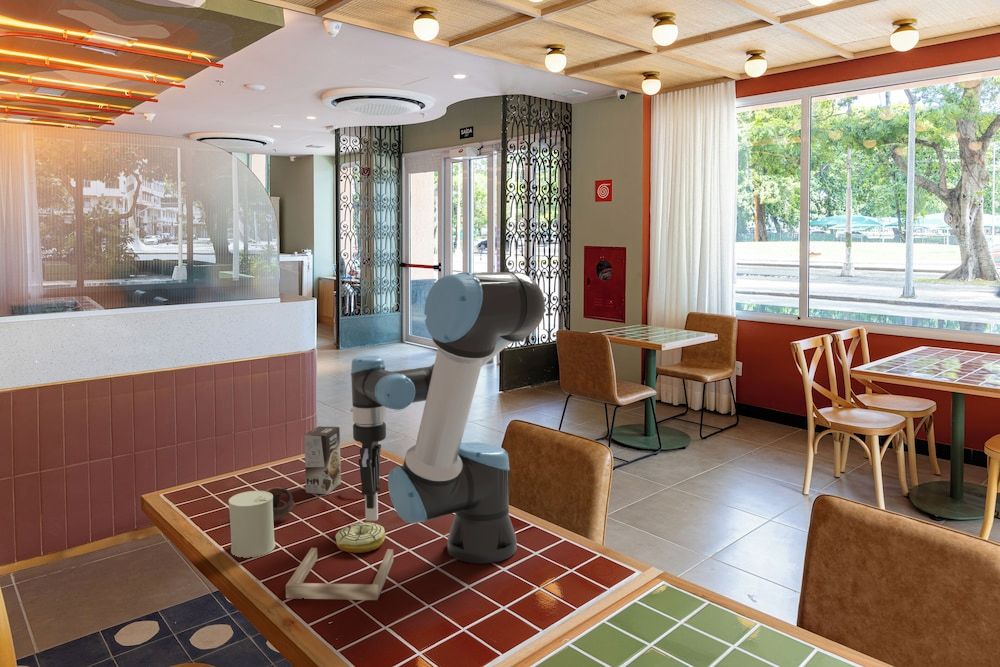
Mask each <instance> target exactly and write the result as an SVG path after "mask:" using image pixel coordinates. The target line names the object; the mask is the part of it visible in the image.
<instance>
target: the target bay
mask: <svg viewBox="0 0 1000 667" xmlns="http://www.w3.org/2000/svg"><path fill="white" fill-rule="evenodd" d="M317 560H318V548H317V547H311V548H310V549H309V550H308V552H307V554H306V555H305V556H304V558H303V560H302V561H301V563H300V564H299V566H298V567H297V568H296V570H295V571H294V573H292V576H291V577H290V579H288V581H287V583H286V584H285V586H284V588H285V598H286V599H300V600H301V599H302V598H304V599H305V600H307V599H308V600H347V601H348V600H350V601H353V600H354V601H357V600H358V601H378V599H379V598H380V594H381V592H382V590H383V587H384V585H385V582H386V580H387V578H388V576H389V573H390V570H391V568H392V565H393V562H394V560H395V559H394V549H392V548H388V549H386V552H385V554H384V557H383V558H382V562H381V563H380V566H379V568H378V570H377V572H376V575H375V577H374V579H373V582H372V583H371V584H370V583H369V584H367V583H322V582H321V583H318V582H317V583H316V582H314V583H313V582H304V581H305V579H306V578H307V576H308V574H309V573H310V572H311V570H312V569H313V567H314V565H315V564H316V563H317ZM304 599H303V600H304Z"/></svg>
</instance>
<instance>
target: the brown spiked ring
mask: <svg viewBox="0 0 1000 667" xmlns="http://www.w3.org/2000/svg"><path fill="white" fill-rule="evenodd" d="M264 491H266V492H269V493H271V494H272V495H273V522H274V521H276V520H280V519H281V518H284V517H286V516H287V515H289V513H291V511H292V510H293V509H294V507H296V503H295V501H294V500H293V498H294V497H293V495H292V492H291V491H290V490H289V489H287V488H285V487H282V486H272V487H269V488H267V489H265V490H264ZM284 494H286V495H287V498H288V501H287V502H286V501H284V500H282V499H280V498H281V495H284Z"/></svg>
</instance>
